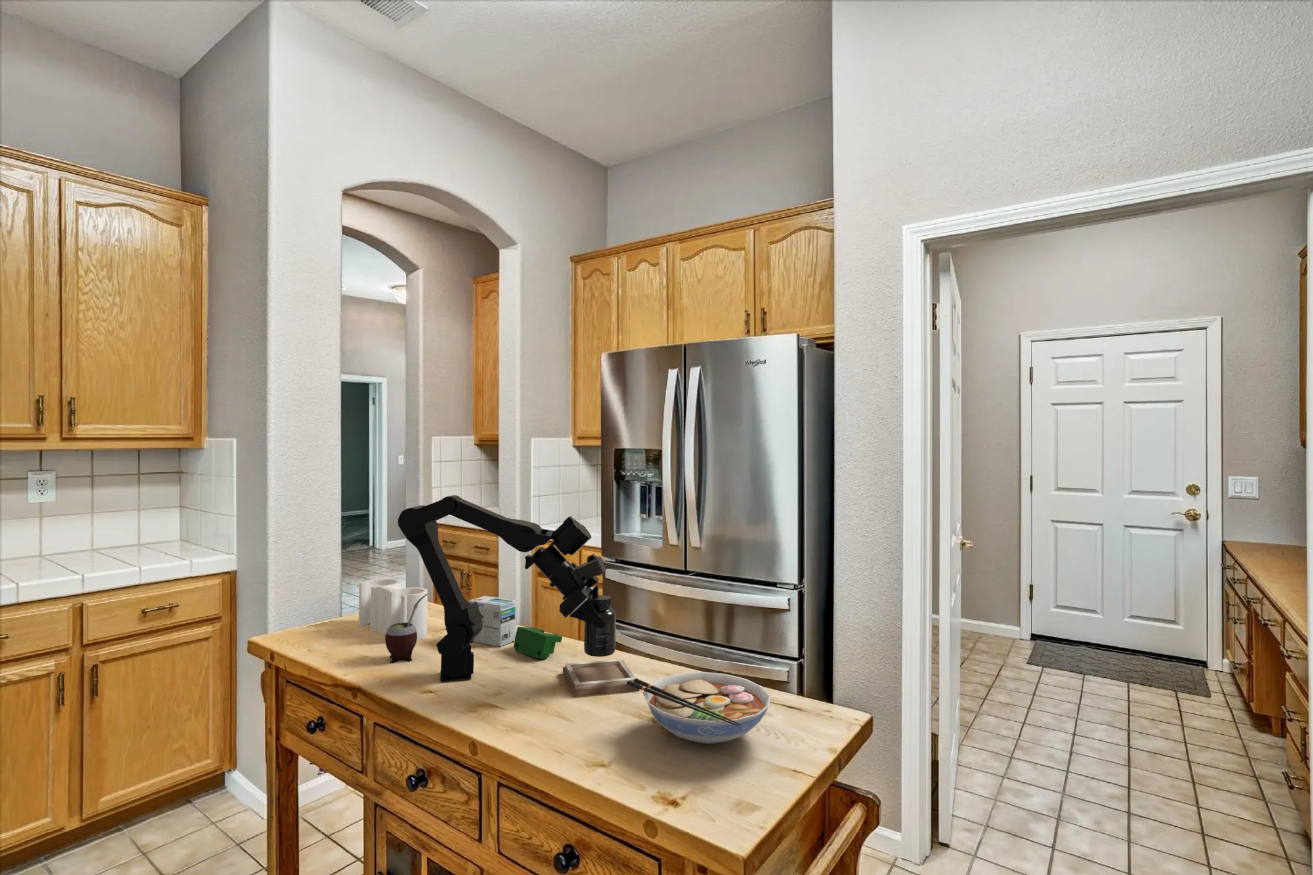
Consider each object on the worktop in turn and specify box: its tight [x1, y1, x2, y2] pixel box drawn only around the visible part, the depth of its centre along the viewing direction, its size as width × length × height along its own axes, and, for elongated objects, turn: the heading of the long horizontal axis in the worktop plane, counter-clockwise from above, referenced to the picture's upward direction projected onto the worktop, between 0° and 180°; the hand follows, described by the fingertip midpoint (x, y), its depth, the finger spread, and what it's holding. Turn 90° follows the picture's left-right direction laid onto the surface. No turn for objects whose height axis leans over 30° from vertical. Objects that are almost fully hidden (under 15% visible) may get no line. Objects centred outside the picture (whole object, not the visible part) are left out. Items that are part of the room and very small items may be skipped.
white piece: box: [358, 578, 429, 642], centre depth 177 cm, size 25×10×12 cm, turn 49°
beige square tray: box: [562, 658, 641, 698], centre depth 142 cm, size 14×14×2 cm
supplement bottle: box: [583, 594, 617, 658], centre depth 142 cm, size 7×7×12 cm
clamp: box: [513, 626, 563, 660], centre depth 161 cm, size 12×6×9 cm, turn 43°
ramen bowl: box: [627, 671, 771, 745], centre depth 117 cm, size 25×23×8 cm
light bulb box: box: [468, 595, 517, 647], centre depth 169 cm, size 11×7×11 cm, turn 65°
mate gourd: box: [384, 594, 427, 664], centre depth 155 cm, size 8×8×15 cm
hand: (606, 622), depth 142 cm, fingers closed on supplement bottle, 7 cm apart
